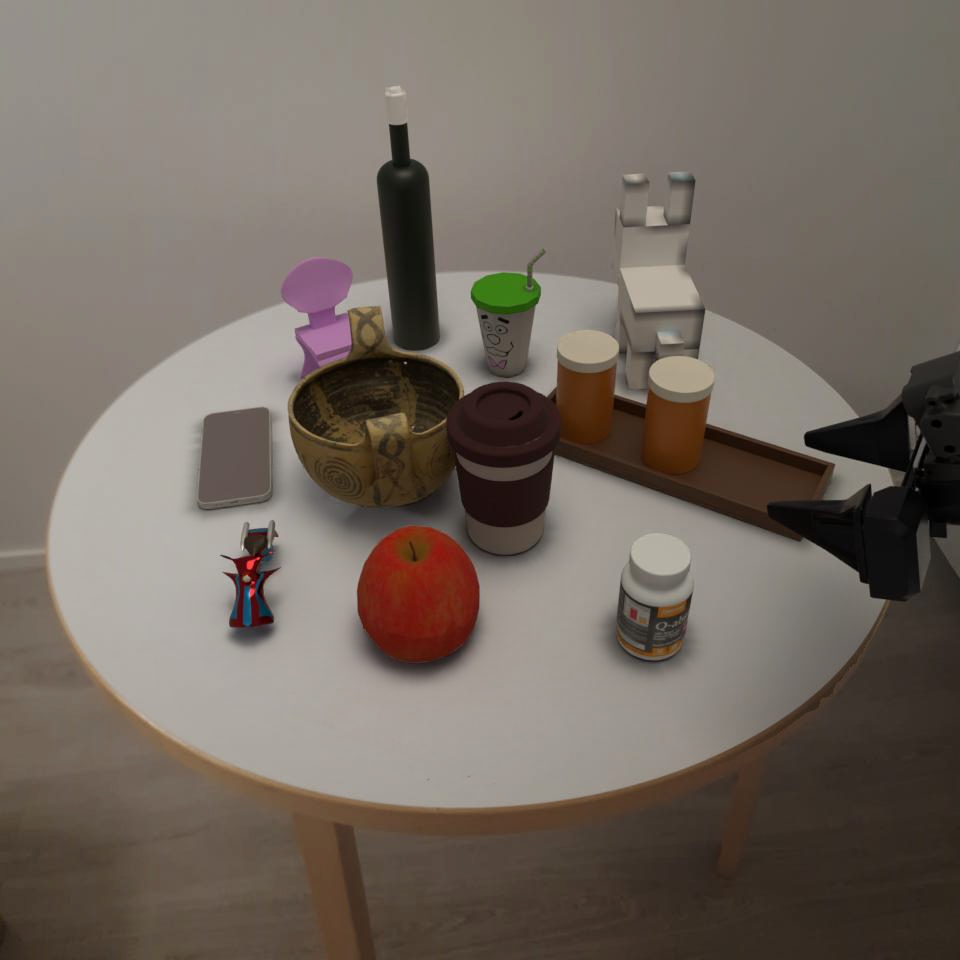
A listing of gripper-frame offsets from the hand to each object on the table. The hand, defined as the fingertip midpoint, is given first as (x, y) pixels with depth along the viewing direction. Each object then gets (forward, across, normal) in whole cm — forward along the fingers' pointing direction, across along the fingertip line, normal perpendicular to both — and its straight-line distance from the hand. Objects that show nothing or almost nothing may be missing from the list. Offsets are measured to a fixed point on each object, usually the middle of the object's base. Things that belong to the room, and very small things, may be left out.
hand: (787, 472), depth 65 cm
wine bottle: (+53, -26, 0) cm, 60 cm away
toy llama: (+27, -36, +9) cm, 46 cm away
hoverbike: (+43, +16, +5) cm, 46 cm away
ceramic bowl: (+42, -2, +5) cm, 42 cm away
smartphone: (+57, +2, 0) cm, 57 cm away
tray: (+19, -19, +12) cm, 30 cm away
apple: (+29, +12, +10) cm, 33 cm away
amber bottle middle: (+19, -19, +12) cm, 29 cm away
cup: (+41, -26, +4) cm, 49 cm away
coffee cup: (+28, -2, +10) cm, 30 cm away
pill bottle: (+12, +3, +15) cm, 20 cm away
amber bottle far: (+28, -19, +8) cm, 35 cm away
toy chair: (+56, -14, 0) cm, 57 cm away
